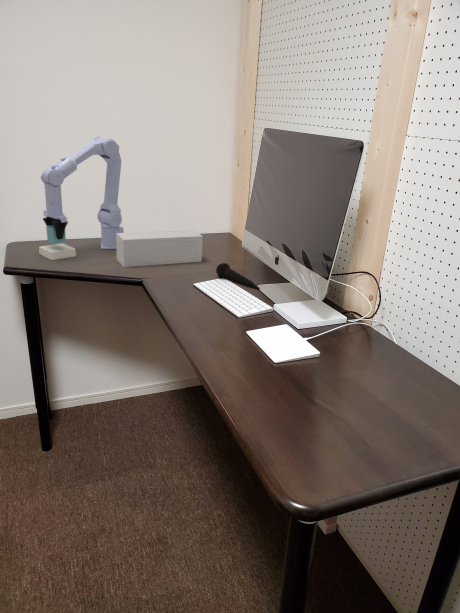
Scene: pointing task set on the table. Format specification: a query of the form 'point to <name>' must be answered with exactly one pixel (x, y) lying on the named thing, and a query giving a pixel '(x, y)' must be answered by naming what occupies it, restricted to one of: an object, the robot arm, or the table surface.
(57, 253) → the cream plinth
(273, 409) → the table surface
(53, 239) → the teal block
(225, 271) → the microphone
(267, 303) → the table surface
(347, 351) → the table surface
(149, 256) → the stack of papers
